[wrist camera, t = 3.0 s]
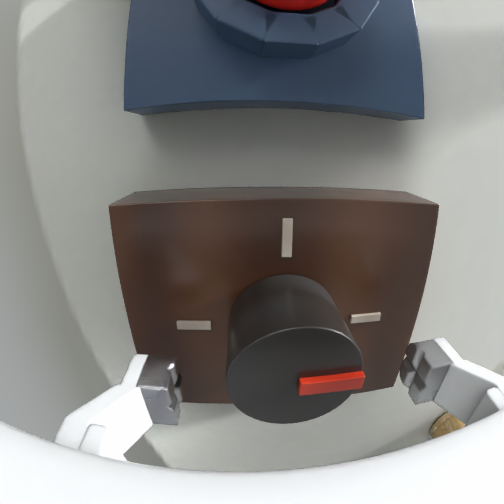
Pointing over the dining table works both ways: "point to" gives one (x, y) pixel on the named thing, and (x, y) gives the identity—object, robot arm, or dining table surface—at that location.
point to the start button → (293, 4)
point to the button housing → (274, 57)
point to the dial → (289, 351)
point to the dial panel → (269, 268)
